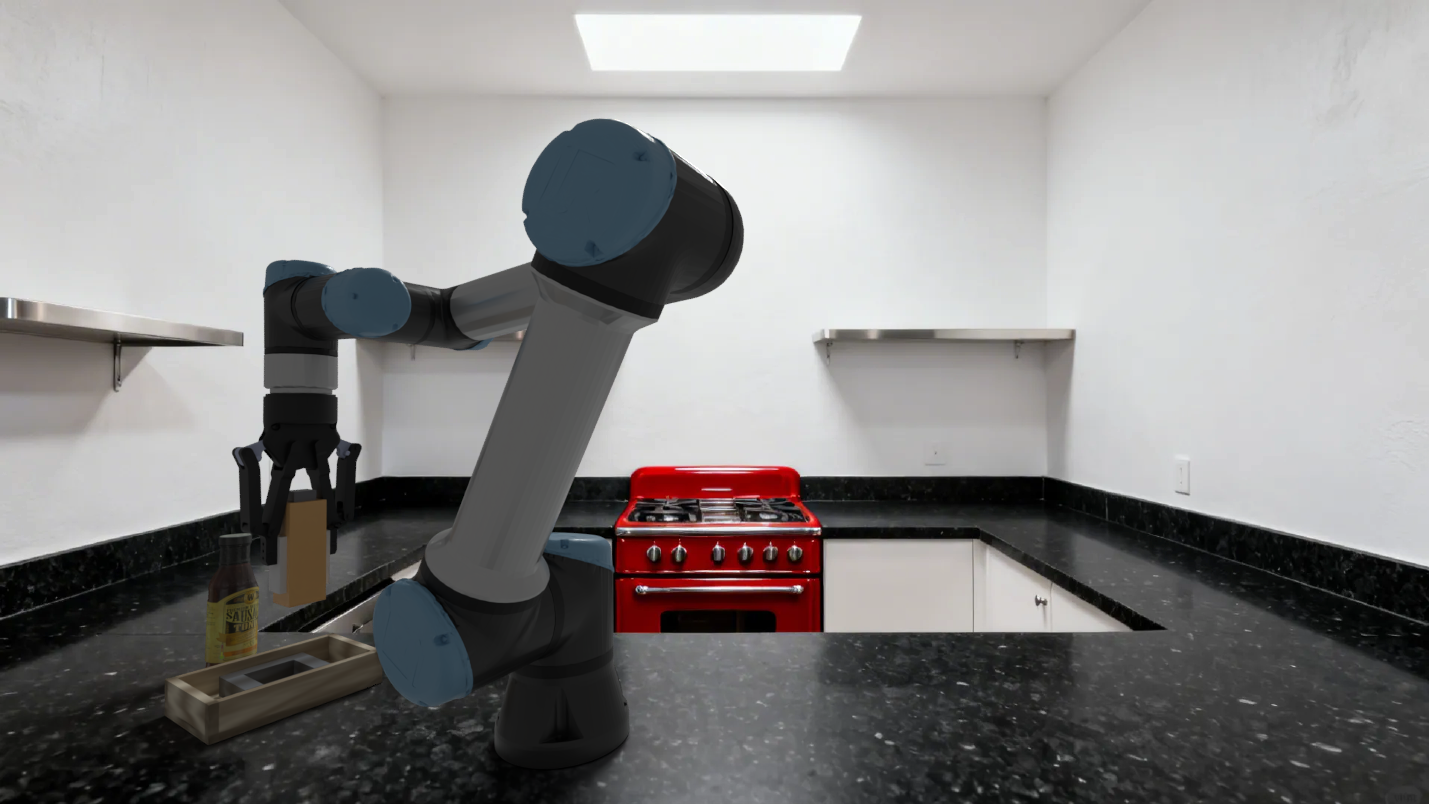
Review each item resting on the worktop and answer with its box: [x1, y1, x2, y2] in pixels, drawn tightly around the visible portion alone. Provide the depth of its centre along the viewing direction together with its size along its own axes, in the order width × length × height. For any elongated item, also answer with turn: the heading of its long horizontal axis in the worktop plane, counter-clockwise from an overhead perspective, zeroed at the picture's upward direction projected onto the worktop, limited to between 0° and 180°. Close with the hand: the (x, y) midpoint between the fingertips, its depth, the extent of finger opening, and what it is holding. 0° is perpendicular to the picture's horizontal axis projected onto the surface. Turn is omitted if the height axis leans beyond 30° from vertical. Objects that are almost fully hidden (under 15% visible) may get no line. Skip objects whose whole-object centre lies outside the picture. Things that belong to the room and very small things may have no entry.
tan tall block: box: [272, 488, 327, 609], centre depth 75 cm, size 4×4×13 cm
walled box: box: [164, 632, 383, 746], centre depth 84 cm, size 14×20×4 cm
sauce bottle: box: [204, 532, 260, 668], centre depth 95 cm, size 7×6×20 cm
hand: (299, 586), depth 75 cm, fingers closed on tan tall block, 4 cm apart
